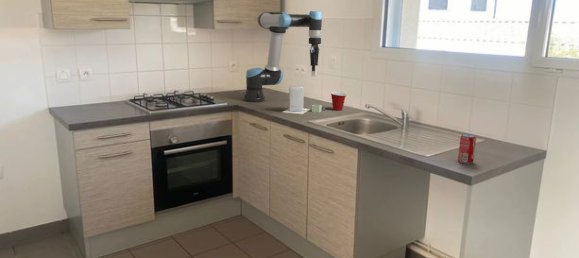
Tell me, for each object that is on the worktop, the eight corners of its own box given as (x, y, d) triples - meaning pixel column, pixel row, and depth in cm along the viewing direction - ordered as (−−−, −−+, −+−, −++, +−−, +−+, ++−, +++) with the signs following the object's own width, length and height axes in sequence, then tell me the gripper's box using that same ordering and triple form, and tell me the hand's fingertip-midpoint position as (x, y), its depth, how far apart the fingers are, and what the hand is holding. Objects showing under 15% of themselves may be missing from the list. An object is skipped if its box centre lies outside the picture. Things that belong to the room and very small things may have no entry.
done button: (314, 110, 290) (314, 104, 289) (321, 111, 288) (321, 104, 287) (311, 111, 285) (311, 105, 284) (319, 112, 283) (319, 106, 282)
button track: (313, 110, 293) (313, 106, 292) (324, 111, 290) (324, 107, 290) (306, 114, 280) (306, 110, 279) (318, 115, 277) (318, 111, 277)
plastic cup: (345, 112, 286) (346, 94, 283) (328, 111, 288) (329, 93, 286) (346, 109, 297) (347, 91, 294) (330, 108, 299) (331, 91, 296)
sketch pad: (291, 108, 296) (291, 107, 296) (309, 110, 292) (309, 108, 292) (282, 113, 282) (282, 111, 282) (301, 115, 278) (301, 113, 277)
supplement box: (303, 111, 283) (304, 88, 279) (289, 111, 282) (290, 88, 278) (302, 108, 292) (302, 86, 288) (288, 108, 291) (289, 86, 287)
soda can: (455, 162, 189) (458, 135, 186) (460, 158, 194) (463, 132, 191) (470, 165, 186) (473, 137, 183) (475, 161, 190) (478, 134, 187)
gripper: (317, 37, 260) (316, 77, 266) (323, 37, 272) (322, 75, 278) (305, 37, 263) (304, 77, 269) (312, 36, 275) (311, 74, 281)
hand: (313, 76), depth 273 cm, fingers closed
